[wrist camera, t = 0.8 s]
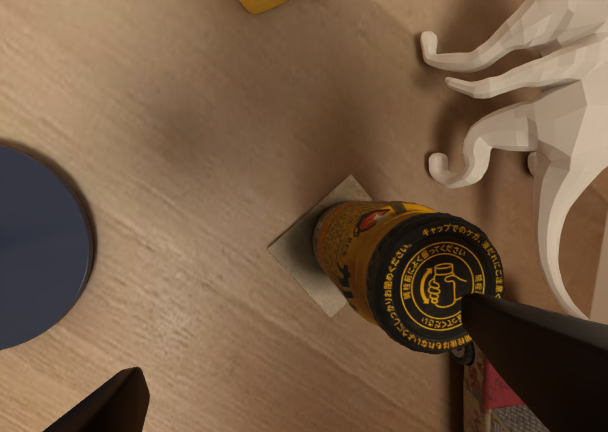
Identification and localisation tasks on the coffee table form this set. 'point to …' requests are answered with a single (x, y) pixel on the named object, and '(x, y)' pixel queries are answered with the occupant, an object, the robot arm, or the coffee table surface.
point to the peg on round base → (38, 247)
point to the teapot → (260, 5)
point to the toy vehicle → (491, 397)
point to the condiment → (391, 265)
